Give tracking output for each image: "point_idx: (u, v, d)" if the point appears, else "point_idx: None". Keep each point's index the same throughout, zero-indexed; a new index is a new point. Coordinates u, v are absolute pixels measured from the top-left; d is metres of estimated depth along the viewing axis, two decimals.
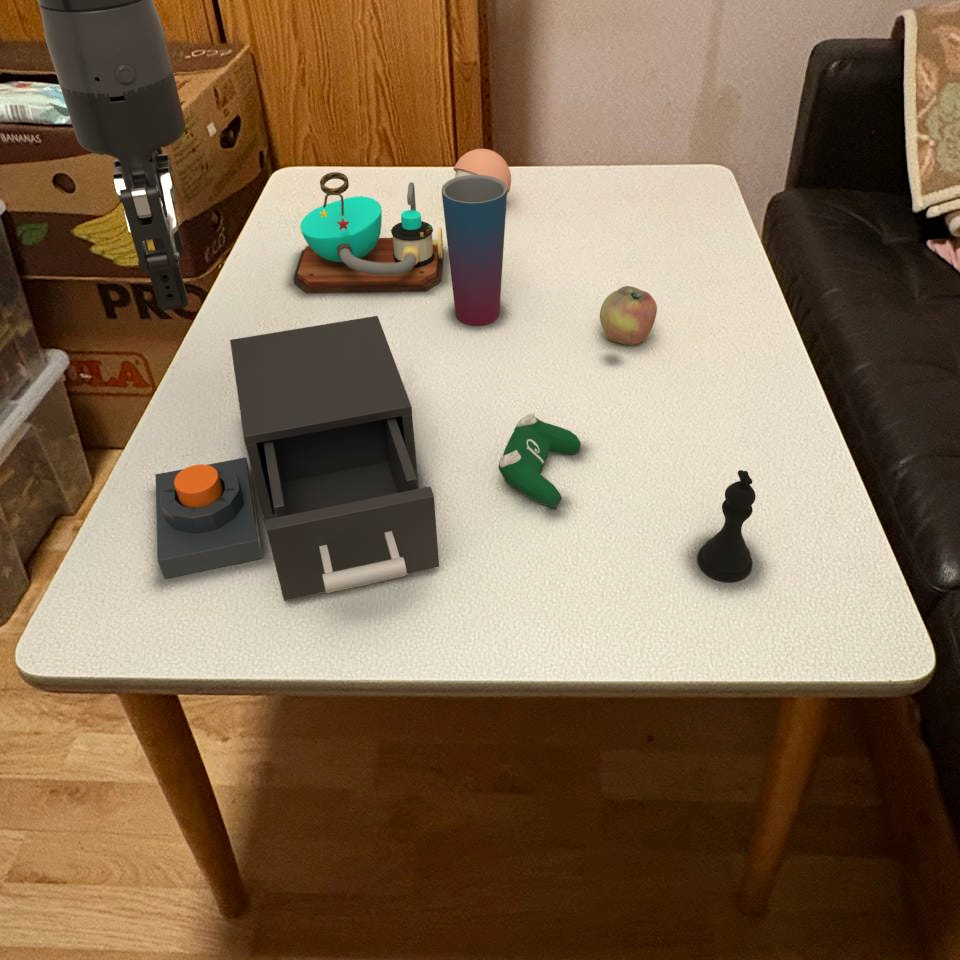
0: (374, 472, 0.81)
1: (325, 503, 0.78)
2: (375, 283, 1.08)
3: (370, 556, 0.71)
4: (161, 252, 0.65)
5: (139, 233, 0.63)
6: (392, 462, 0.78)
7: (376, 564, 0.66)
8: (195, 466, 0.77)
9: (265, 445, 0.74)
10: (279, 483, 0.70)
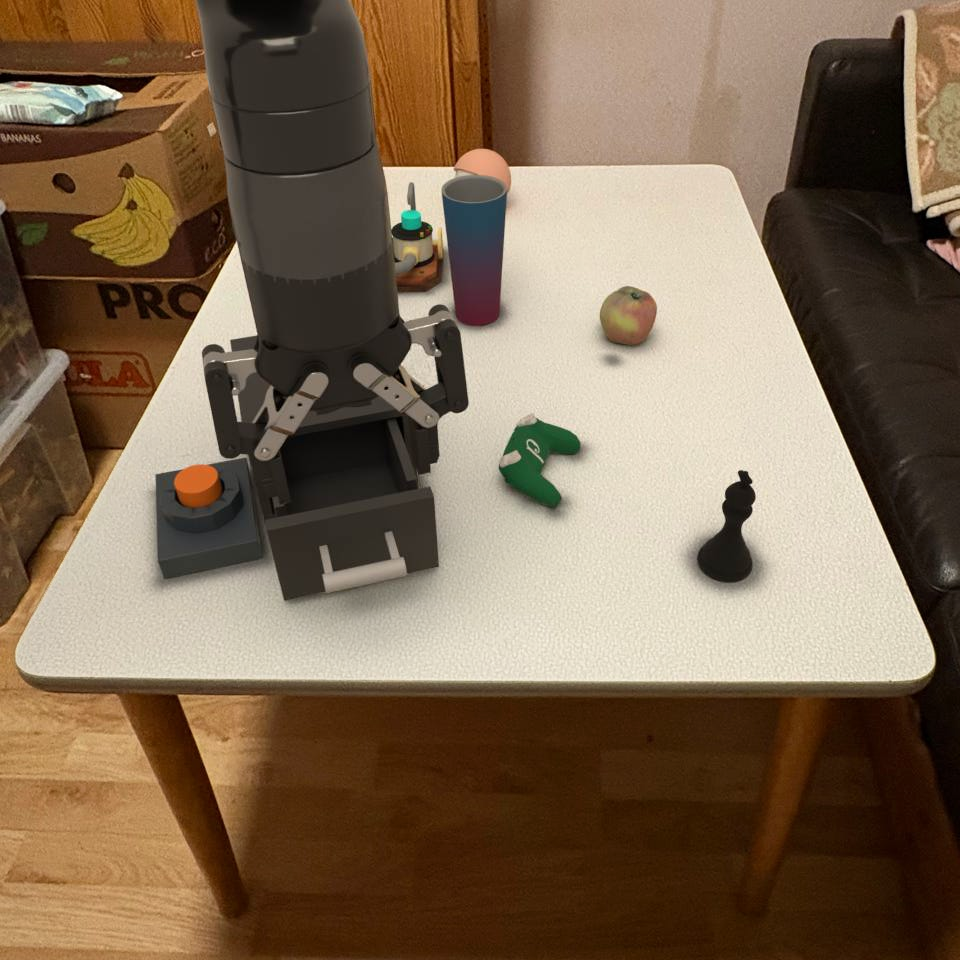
0: (374, 472, 0.81)
1: (325, 503, 0.78)
2: None
3: (370, 556, 0.71)
4: None
5: None
6: (392, 462, 0.78)
7: (376, 564, 0.66)
8: (195, 466, 0.77)
9: None
10: None
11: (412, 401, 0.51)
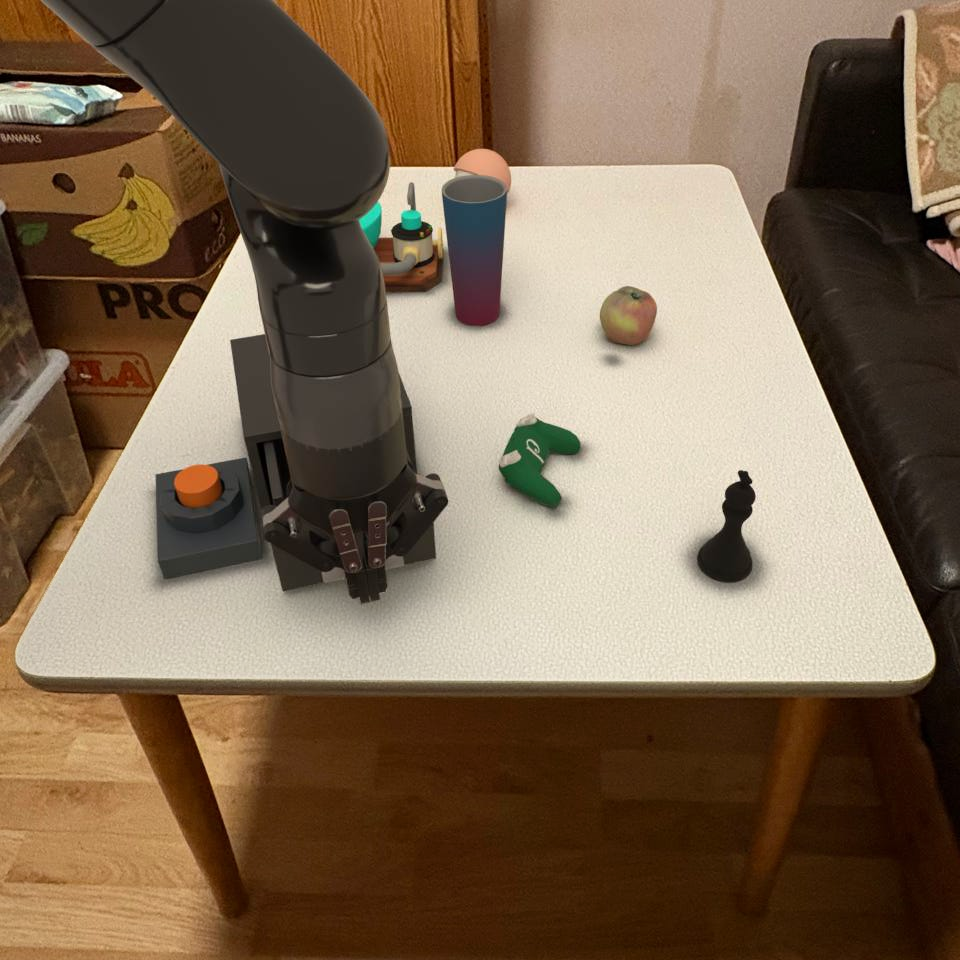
0: None
1: None
2: None
3: None
4: (394, 529, 0.64)
5: None
6: None
7: None
8: (195, 466, 0.77)
9: None
10: (278, 475, 0.71)
11: (382, 544, 0.62)
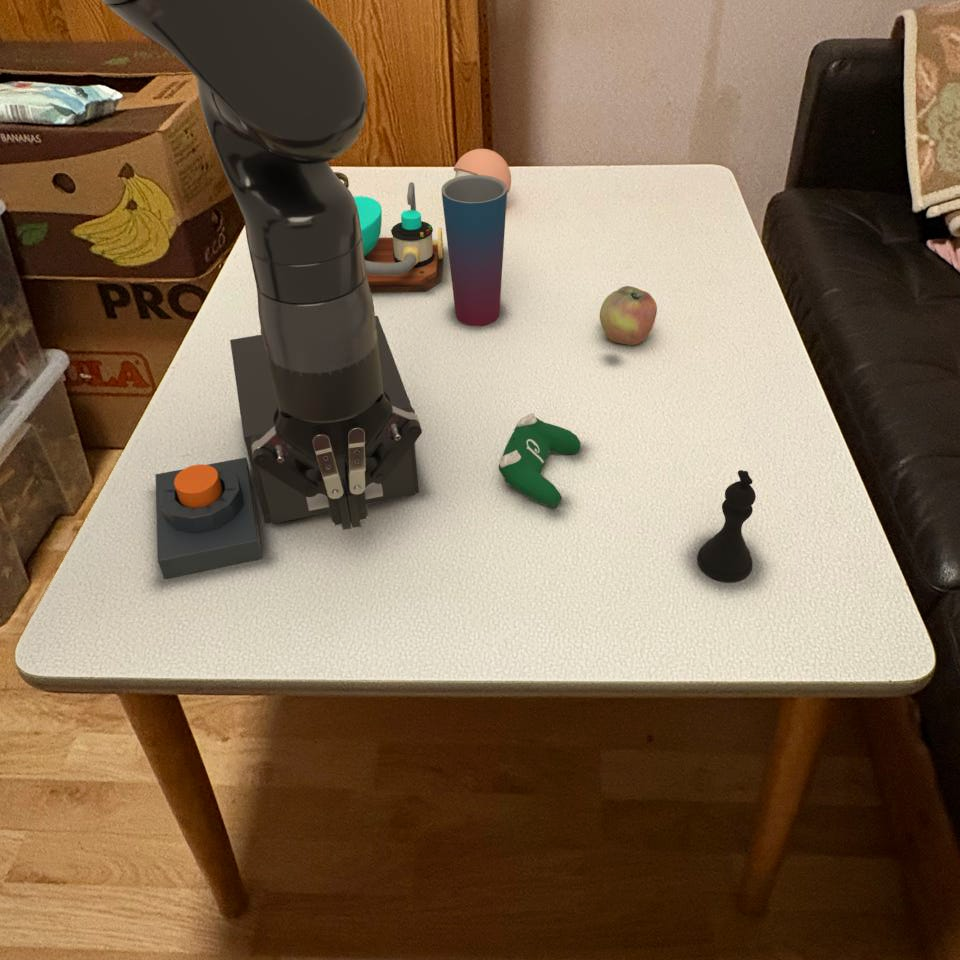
0: None
1: None
2: (375, 283, 1.08)
3: None
4: (373, 459, 0.70)
5: None
6: None
7: None
8: (195, 466, 0.77)
9: None
10: None
11: (362, 470, 0.68)
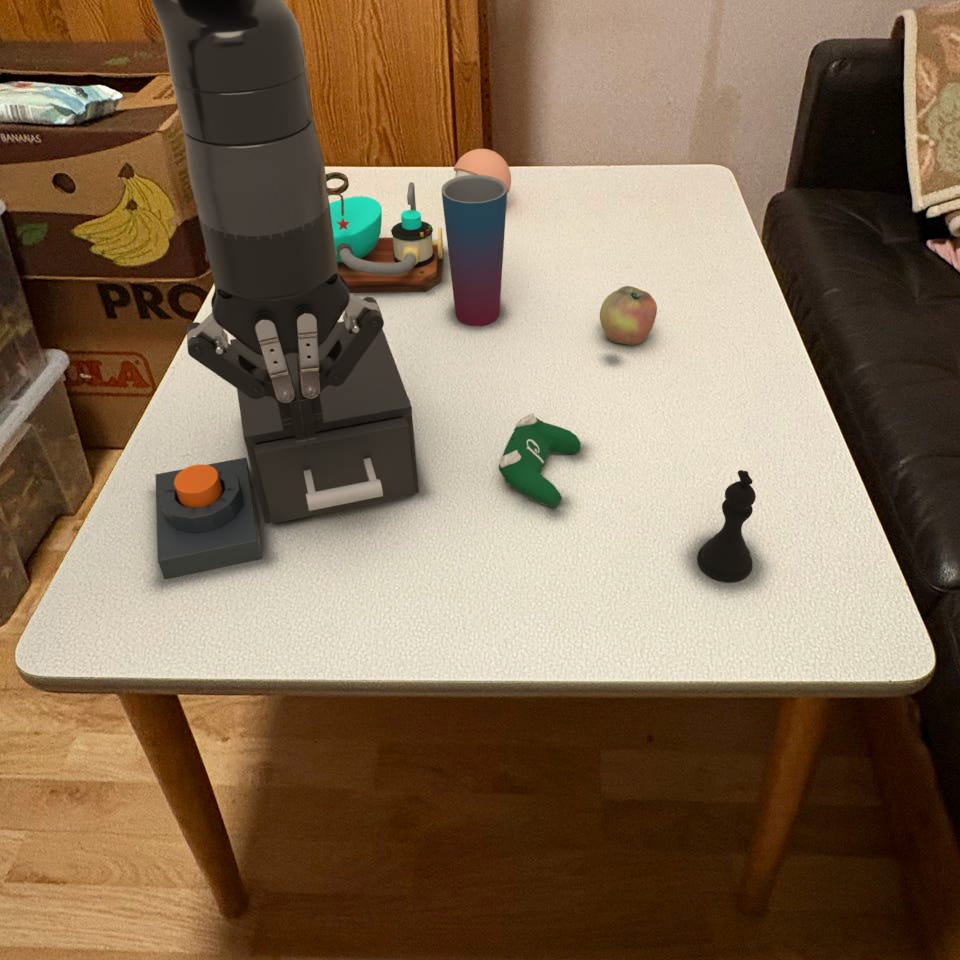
0: None
1: None
2: (375, 283, 1.08)
3: (350, 482, 0.77)
4: (329, 359, 0.61)
5: None
6: None
7: (355, 485, 0.73)
8: (195, 466, 0.77)
9: None
10: None
11: (315, 368, 0.59)
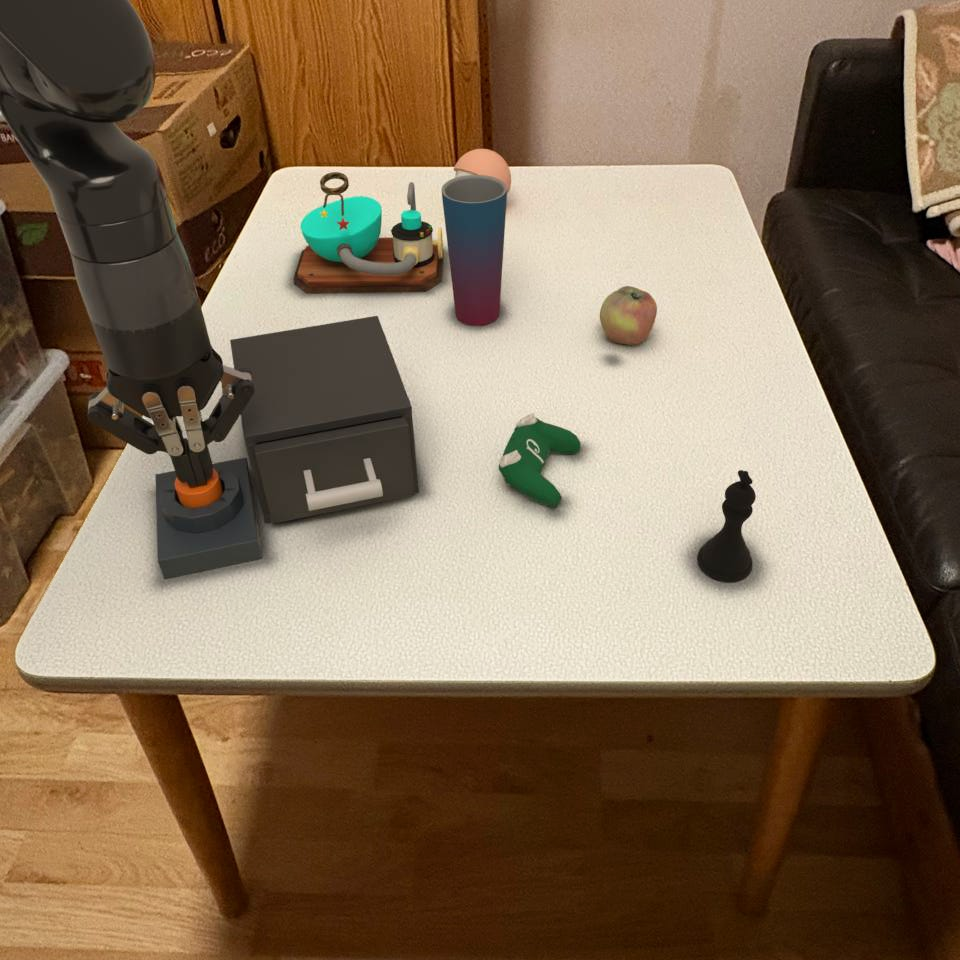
0: None
1: None
2: (375, 283, 1.08)
3: (350, 482, 0.77)
4: (213, 418, 0.73)
5: None
6: None
7: (355, 485, 0.73)
8: None
9: None
10: None
11: (198, 428, 0.71)
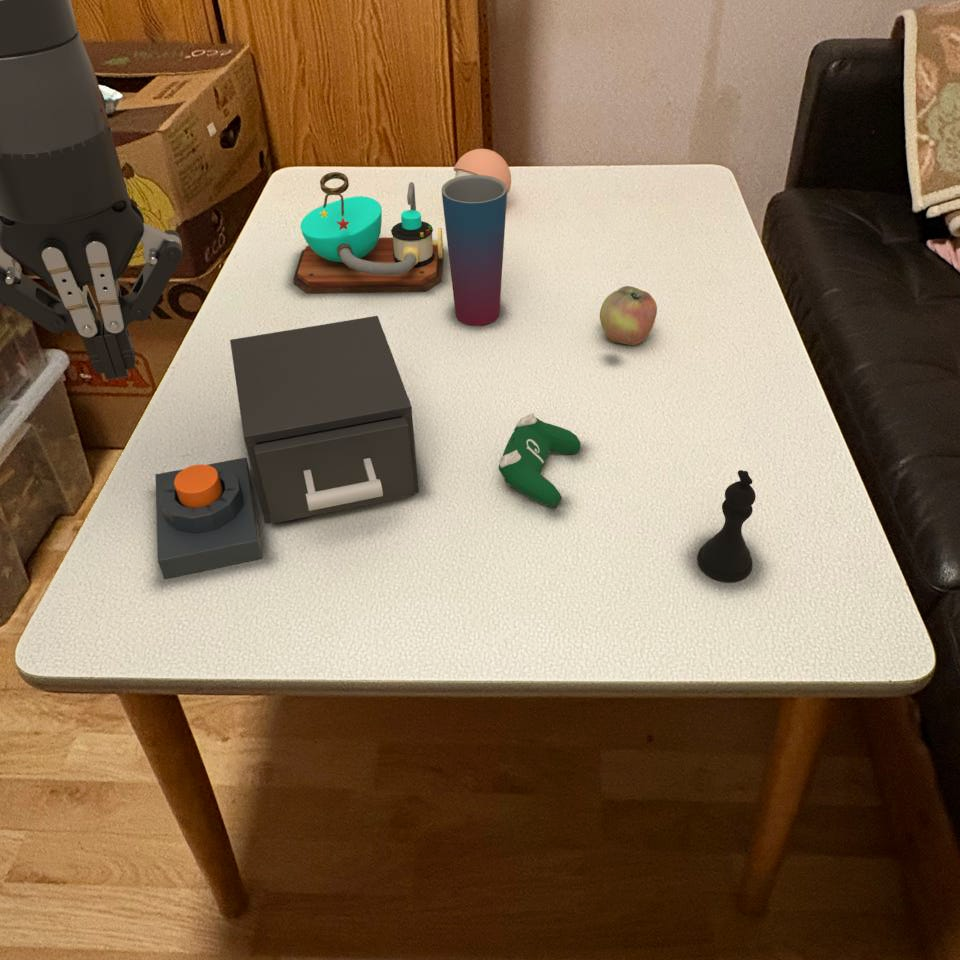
0: None
1: None
2: (375, 283, 1.08)
3: (350, 482, 0.77)
4: (134, 294, 0.61)
5: None
6: None
7: (355, 485, 0.73)
8: (195, 466, 0.77)
9: None
10: None
11: (113, 300, 0.58)
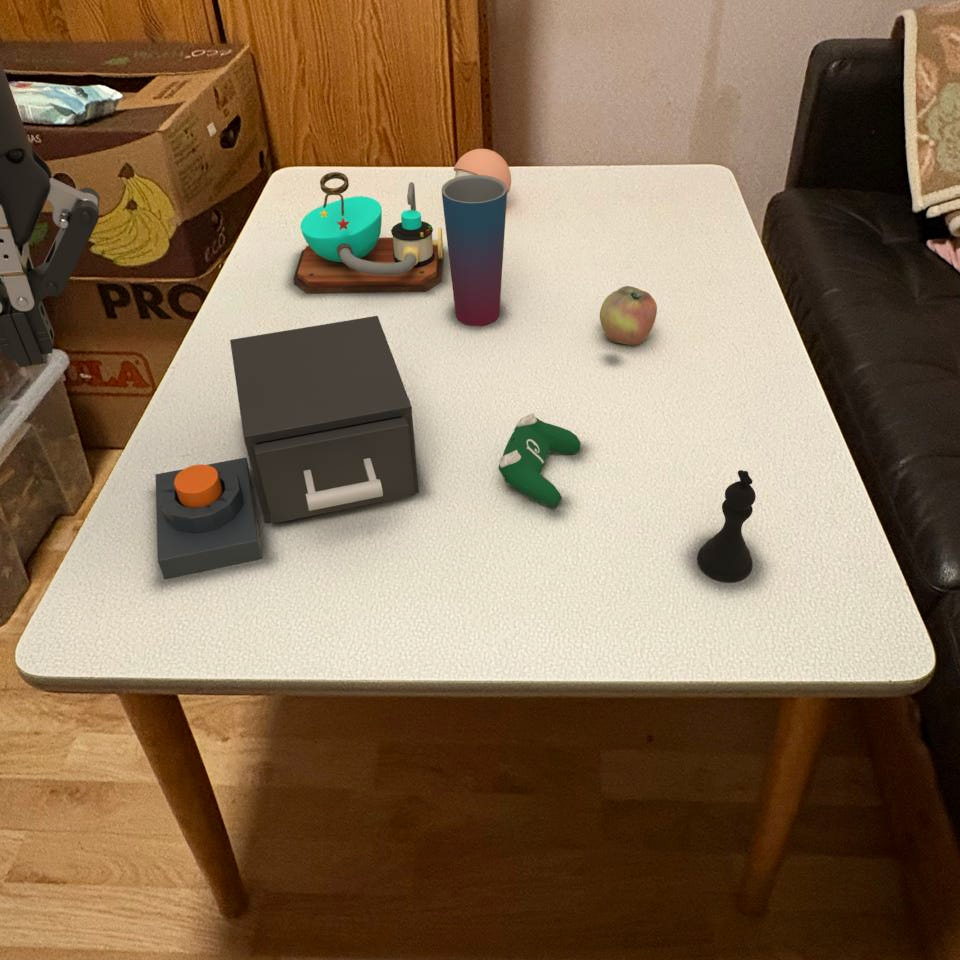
0: None
1: None
2: (375, 283, 1.08)
3: (350, 482, 0.77)
4: (47, 264, 0.51)
5: None
6: None
7: (355, 485, 0.73)
8: (195, 466, 0.77)
9: None
10: None
11: (18, 271, 0.49)
